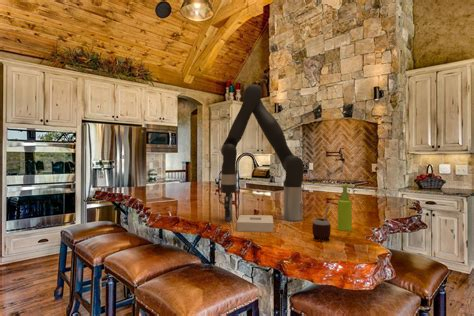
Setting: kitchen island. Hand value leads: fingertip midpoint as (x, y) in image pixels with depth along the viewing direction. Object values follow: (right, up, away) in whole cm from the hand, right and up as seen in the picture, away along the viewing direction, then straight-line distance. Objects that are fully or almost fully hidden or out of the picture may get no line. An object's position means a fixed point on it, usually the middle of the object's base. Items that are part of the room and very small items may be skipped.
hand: (228, 215), depth 149 cm
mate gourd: (+39, -4, -31) cm, 50 cm away
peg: (0, -3, 0) cm, 3 cm away
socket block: (+13, -3, -12) cm, 18 cm away
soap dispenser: (+54, -4, -16) cm, 56 cm away
